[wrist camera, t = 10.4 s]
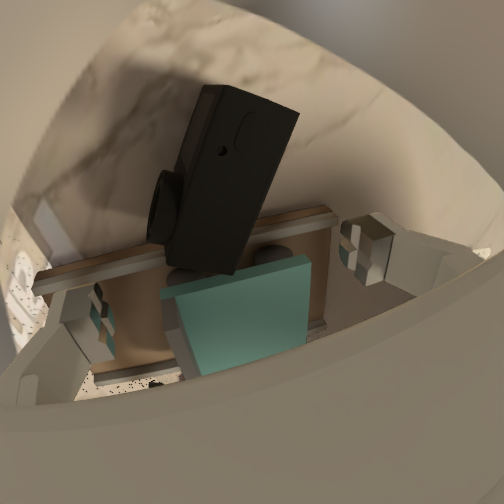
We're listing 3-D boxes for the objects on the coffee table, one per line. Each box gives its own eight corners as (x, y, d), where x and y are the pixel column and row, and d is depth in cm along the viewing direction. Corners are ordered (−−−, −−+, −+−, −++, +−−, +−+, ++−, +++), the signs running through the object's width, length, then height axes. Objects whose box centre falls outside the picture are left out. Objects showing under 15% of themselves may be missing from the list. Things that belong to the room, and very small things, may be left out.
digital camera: (187, 77, 18) (202, 73, 12) (259, 101, 20) (302, 111, 14) (145, 212, 22) (145, 264, 16) (212, 226, 24) (234, 277, 18)
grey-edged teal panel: (289, 236, 25) (331, 286, 19) (289, 325, 31) (318, 376, 26) (157, 267, 23) (163, 331, 17) (187, 353, 29) (200, 412, 23)
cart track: (325, 205, 26) (338, 215, 24) (317, 316, 34) (326, 329, 32) (37, 272, 21) (30, 288, 19) (97, 371, 29) (97, 387, 27)
